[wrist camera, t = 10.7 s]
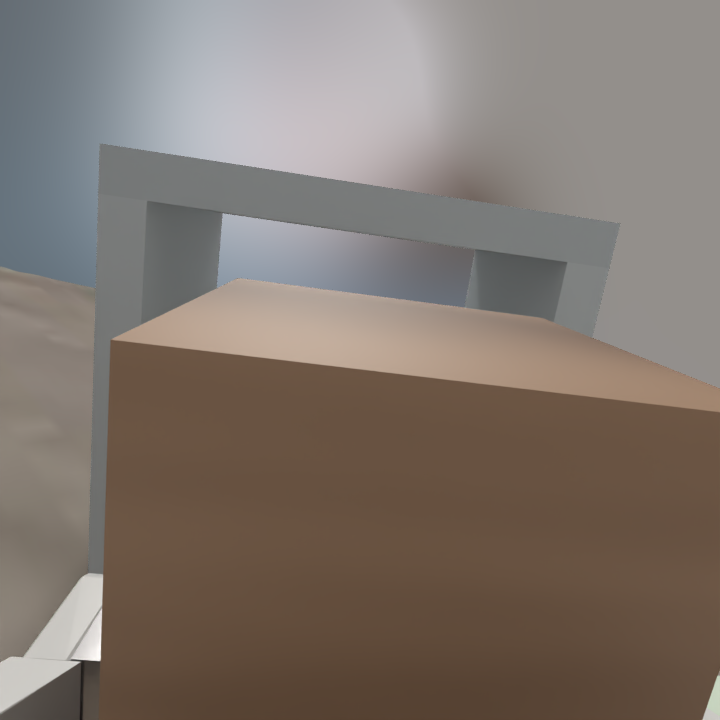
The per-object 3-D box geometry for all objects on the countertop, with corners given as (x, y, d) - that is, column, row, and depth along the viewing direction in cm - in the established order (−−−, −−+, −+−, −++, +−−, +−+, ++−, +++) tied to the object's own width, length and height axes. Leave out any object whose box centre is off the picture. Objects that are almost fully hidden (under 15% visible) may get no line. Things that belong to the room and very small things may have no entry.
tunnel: (518, 638, 22) (620, 223, 18) (87, 601, 20) (99, 143, 16) (453, 495, 33) (506, 226, 29) (176, 466, 32) (196, 179, 28)
